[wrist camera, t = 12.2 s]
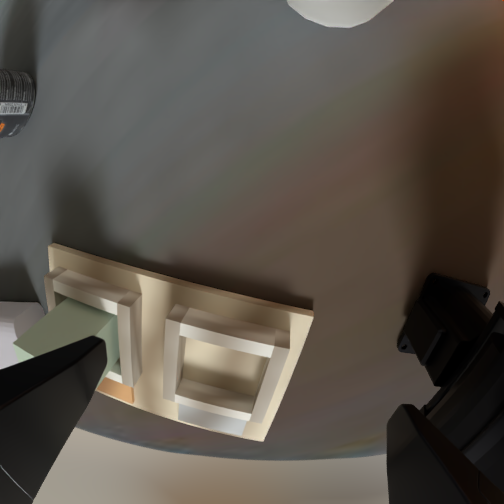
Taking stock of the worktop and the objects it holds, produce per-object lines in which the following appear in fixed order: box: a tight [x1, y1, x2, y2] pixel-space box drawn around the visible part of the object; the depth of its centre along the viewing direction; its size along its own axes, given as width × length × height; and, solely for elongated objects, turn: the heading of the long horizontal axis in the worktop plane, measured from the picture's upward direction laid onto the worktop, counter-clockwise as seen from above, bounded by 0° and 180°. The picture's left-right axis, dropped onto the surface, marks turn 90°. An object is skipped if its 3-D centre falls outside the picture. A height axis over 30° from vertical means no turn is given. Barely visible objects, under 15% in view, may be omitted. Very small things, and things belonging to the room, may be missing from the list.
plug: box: [13, 297, 120, 392], centre depth 18 cm, size 4×4×8 cm
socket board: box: [44, 243, 314, 442], centre depth 22 cm, size 21×15×3 cm
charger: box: [0, 301, 45, 369], centre depth 24 cm, size 5×9×15 cm
